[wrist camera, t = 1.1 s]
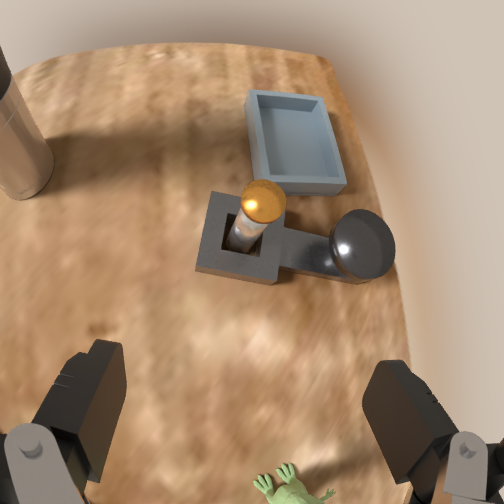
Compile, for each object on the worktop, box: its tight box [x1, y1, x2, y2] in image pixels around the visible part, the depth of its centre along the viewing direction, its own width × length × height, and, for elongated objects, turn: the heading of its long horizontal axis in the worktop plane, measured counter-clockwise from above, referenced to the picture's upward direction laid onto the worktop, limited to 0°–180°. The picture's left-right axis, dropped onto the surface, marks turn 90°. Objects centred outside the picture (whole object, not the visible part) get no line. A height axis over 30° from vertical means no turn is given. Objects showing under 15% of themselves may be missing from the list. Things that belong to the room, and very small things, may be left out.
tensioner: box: [195, 191, 395, 285], centre depth 37 cm, size 22×9×9 cm, turn 81°
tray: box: [244, 90, 347, 196], centre depth 44 cm, size 16×12×4 cm
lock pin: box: [226, 179, 286, 254], centre depth 34 cm, size 4×4×13 cm
